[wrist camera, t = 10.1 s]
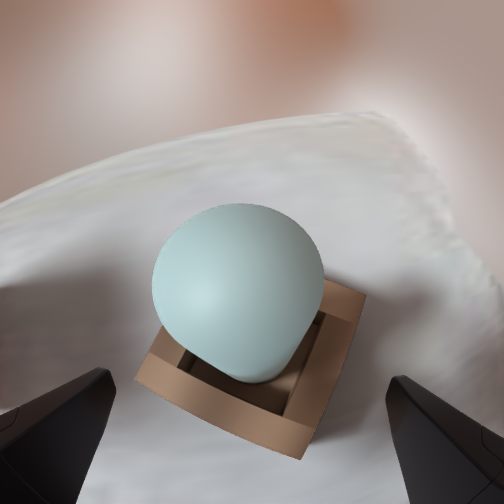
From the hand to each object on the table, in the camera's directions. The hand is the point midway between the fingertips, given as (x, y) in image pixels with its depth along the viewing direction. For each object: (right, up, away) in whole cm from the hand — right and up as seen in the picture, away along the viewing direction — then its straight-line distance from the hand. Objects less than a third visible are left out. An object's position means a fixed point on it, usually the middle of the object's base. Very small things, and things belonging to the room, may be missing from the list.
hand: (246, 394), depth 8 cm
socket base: (0, -3, +11) cm, 12 cm away
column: (0, -2, +10) cm, 11 cm away
